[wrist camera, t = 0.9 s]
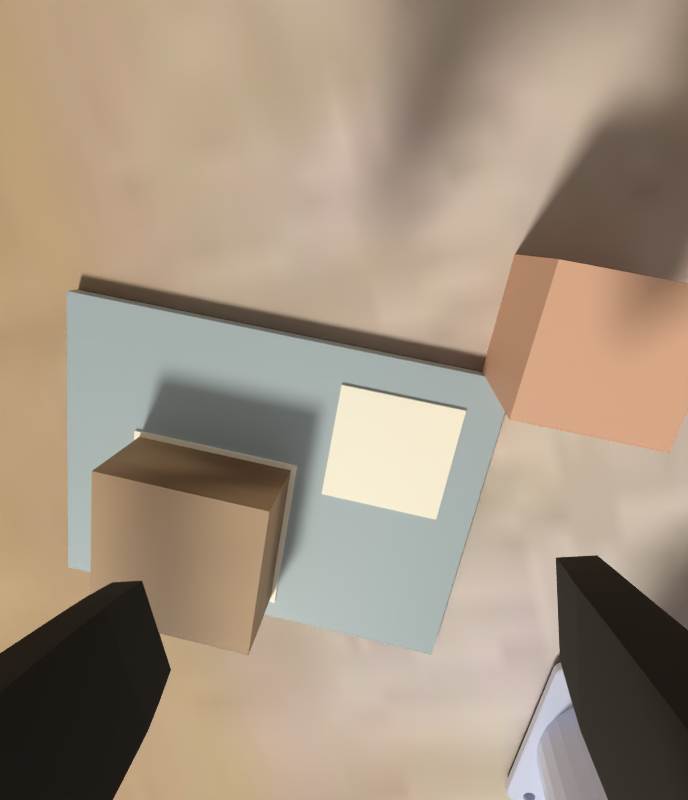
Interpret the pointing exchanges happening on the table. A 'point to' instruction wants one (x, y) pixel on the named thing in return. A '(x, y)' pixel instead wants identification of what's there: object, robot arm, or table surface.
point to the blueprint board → (296, 451)
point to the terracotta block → (592, 351)
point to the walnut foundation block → (190, 537)
